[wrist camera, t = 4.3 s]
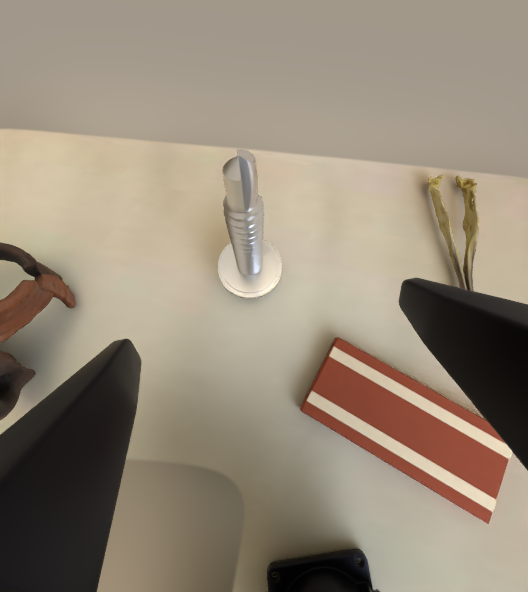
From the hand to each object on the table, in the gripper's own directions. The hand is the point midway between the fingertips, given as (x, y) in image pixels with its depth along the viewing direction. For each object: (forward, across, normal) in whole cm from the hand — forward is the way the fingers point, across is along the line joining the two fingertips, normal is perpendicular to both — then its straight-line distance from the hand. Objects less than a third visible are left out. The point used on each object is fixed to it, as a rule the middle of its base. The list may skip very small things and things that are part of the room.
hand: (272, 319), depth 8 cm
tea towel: (+3, -9, +14) cm, 17 cm away
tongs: (+12, -18, +6) cm, 22 cm away
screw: (+12, 0, +5) cm, 13 cm away
